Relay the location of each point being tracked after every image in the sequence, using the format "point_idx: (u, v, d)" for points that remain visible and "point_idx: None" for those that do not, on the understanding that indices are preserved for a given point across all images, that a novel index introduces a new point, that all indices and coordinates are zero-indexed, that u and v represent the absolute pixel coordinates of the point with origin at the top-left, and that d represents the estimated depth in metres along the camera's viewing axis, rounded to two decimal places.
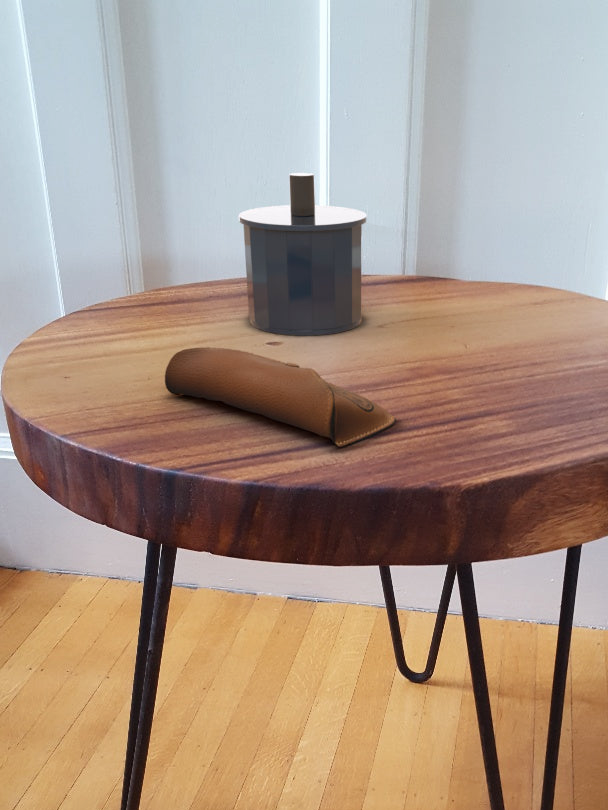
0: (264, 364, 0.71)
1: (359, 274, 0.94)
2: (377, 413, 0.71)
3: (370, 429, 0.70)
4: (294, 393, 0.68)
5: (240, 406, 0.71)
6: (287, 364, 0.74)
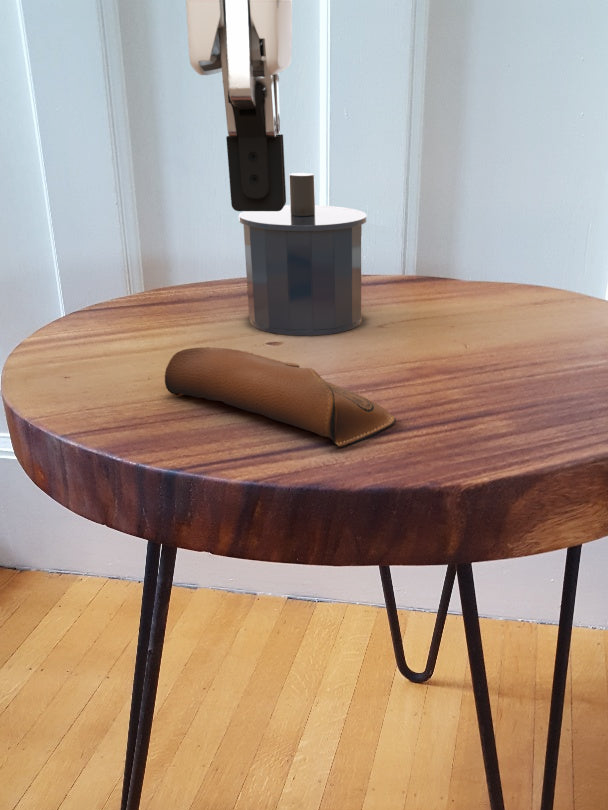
0: (264, 364, 0.71)
1: (359, 274, 0.94)
2: (377, 413, 0.71)
3: (370, 429, 0.70)
4: (294, 393, 0.68)
5: (240, 406, 0.71)
6: (287, 364, 0.74)
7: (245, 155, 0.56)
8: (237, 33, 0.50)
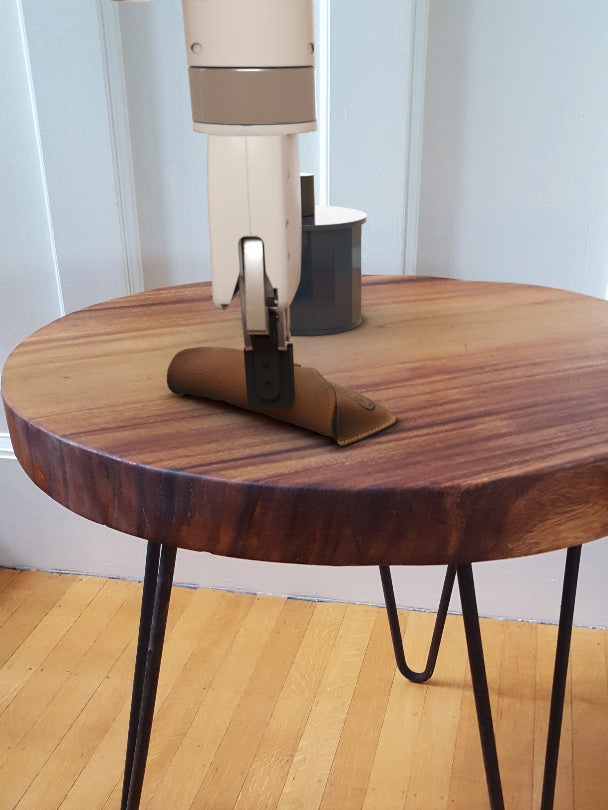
0: None
1: (359, 274, 0.94)
2: (379, 413, 0.71)
3: (372, 428, 0.70)
4: (296, 392, 0.68)
5: (242, 405, 0.72)
6: None
7: (260, 366, 0.65)
8: (254, 283, 0.58)
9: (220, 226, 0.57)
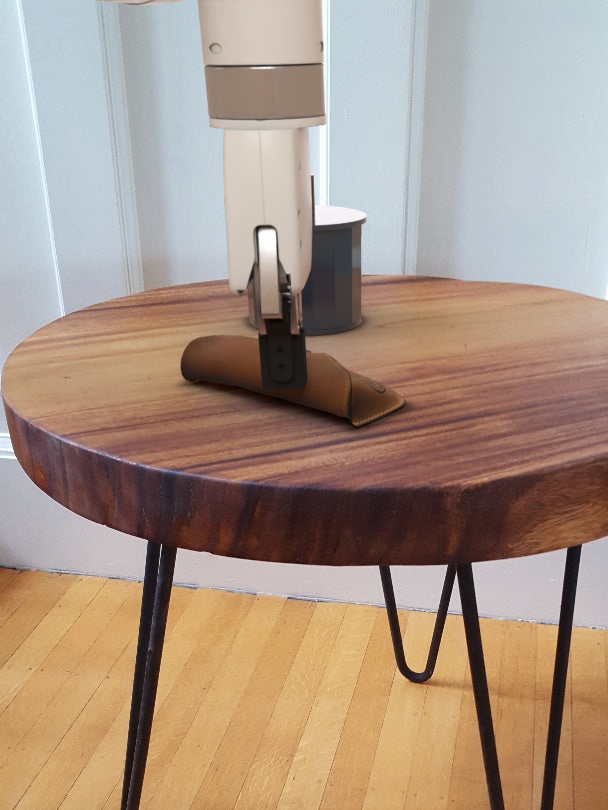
0: None
1: (359, 274, 0.94)
2: (389, 395, 0.75)
3: (383, 410, 0.74)
4: (311, 376, 0.71)
5: (257, 390, 0.75)
6: None
7: (273, 349, 0.68)
8: (268, 269, 0.62)
9: (236, 216, 0.60)
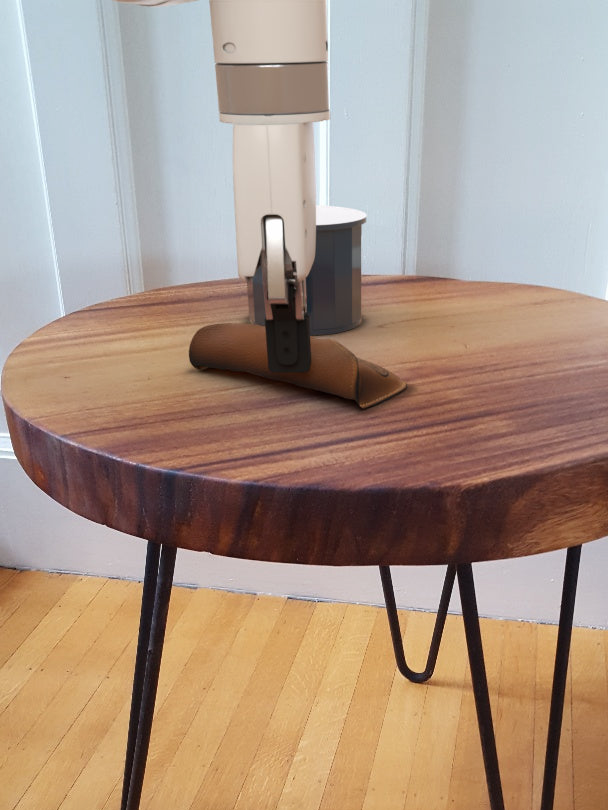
0: None
1: (359, 274, 0.94)
2: (392, 379, 0.78)
3: (387, 393, 0.77)
4: (319, 361, 0.75)
5: (265, 375, 0.78)
6: None
7: (279, 334, 0.71)
8: (275, 257, 0.65)
9: (245, 206, 0.63)
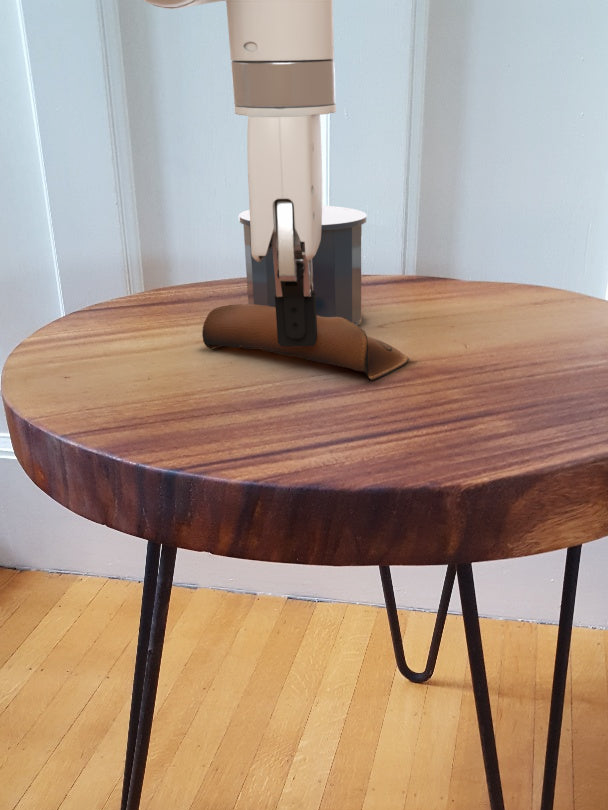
0: None
1: (359, 274, 0.94)
2: (395, 353, 0.84)
3: (391, 366, 0.84)
4: (330, 336, 0.81)
5: (278, 351, 0.84)
6: None
7: (288, 310, 0.78)
8: (285, 238, 0.72)
9: (258, 191, 0.70)
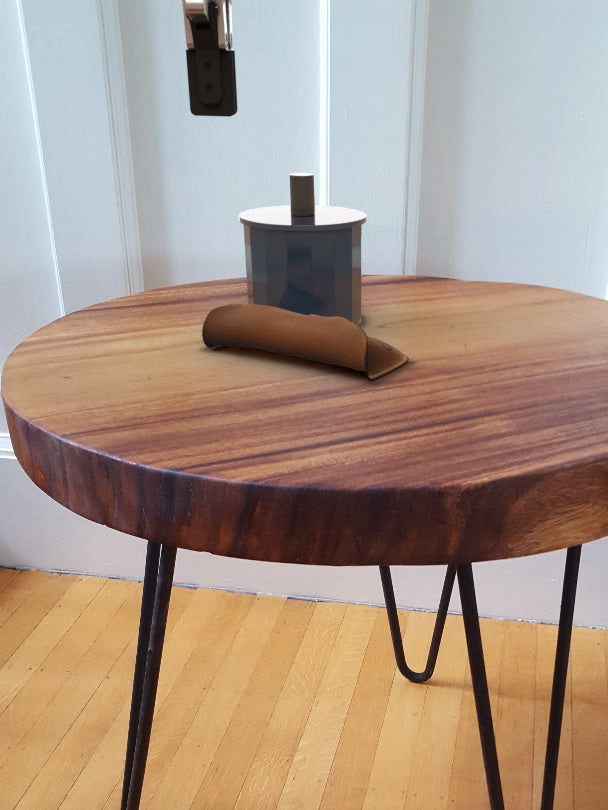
0: (296, 314, 0.84)
1: (359, 274, 0.94)
2: (395, 352, 0.84)
3: (391, 365, 0.84)
4: (330, 336, 0.81)
5: (278, 351, 0.84)
6: (311, 315, 0.86)
7: (201, 66, 0.67)
8: None
9: None
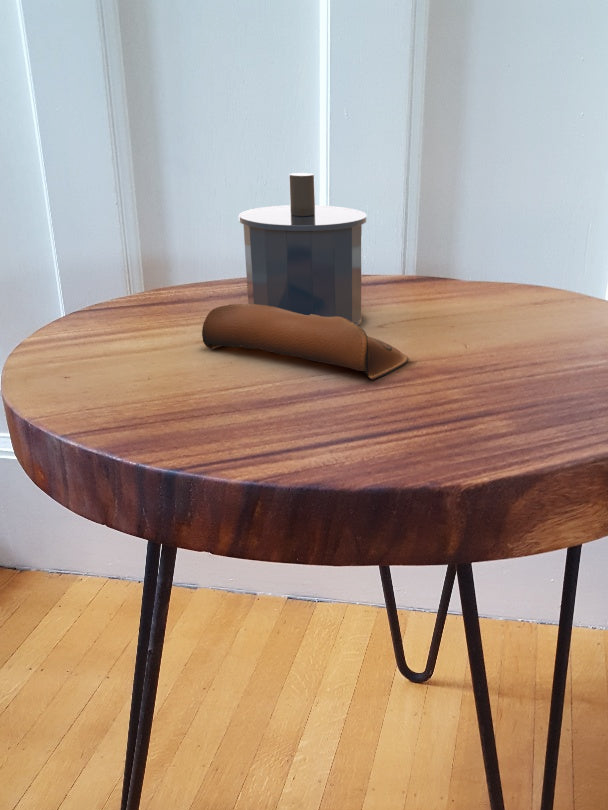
0: (296, 315, 0.84)
1: (359, 274, 0.94)
2: (395, 353, 0.84)
3: (391, 365, 0.84)
4: (330, 336, 0.81)
5: (278, 351, 0.84)
6: (311, 315, 0.86)
7: None
8: None
9: None
